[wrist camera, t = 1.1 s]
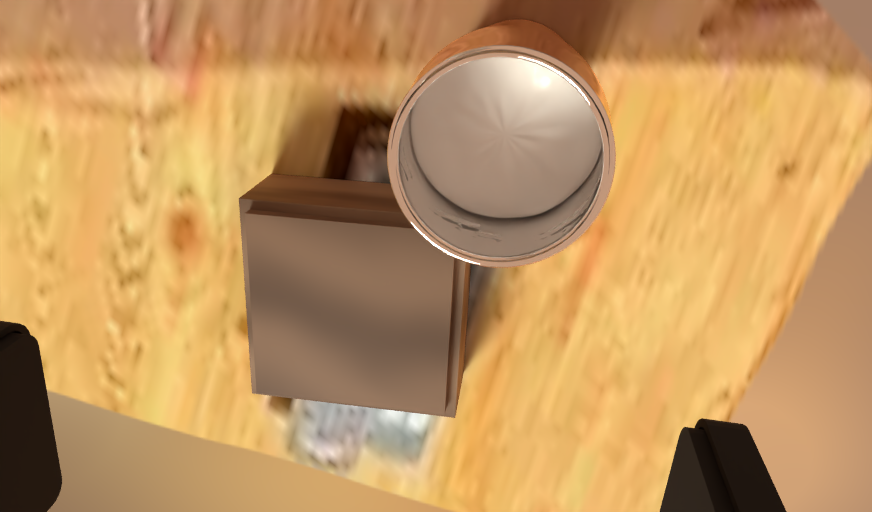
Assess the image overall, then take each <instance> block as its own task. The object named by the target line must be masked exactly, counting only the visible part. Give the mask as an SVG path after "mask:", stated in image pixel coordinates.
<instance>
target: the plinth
mask: <svg viewBox="0 0 872 512" xmlns="http://www.w3.org/2000/svg"><path fill="white" fill-rule="evenodd" d="M239 206H240V221H241V236H242V250H243V265H244V280H245V294H246V309H247V324H248V339H249V353H250V368H251V383H252V393H254V394H262V395H270V396H279V397H287V398H295V399H304V400H312V401H320V402H329V403H337V404H345V405H354V406H362V407H370V408H379V409H387V410H395V411H404V412H412V413H420V414H429V415H437V416H445V417H454V418H455V415H456V410H457V405H458V399H459V394H460V388H461V383H462V378H463V372H464V358H465V344H466V329H467V315H468V301H469V287H470V273H471V264H470V263H467V262H464V261H461V260H458V259H456V258H454V257H451V256H449V255H447V254H446V253H444V252H442V251H440V250H439V249H437V248H436V247H434V246H433V245H432V244H430V243H429V242H428V241H427V240H425V239H424V238H423V237H422V236H421V235H420V234H419V233H418V232H417V231H416V230H415V229H414V227H413V226H412V225H411V224H410V222H409V221H408V220H407V218H406V217H405V215H404V214H403V212H402V210H401V208H400V207H399V205H398V203H397V200H396V198H395V195H394V193H393V190H392V187H391V184H387V183H375V182H364V181H352V180H340V179H328V178H316V177H304V176H292V175H280V174H271V175H269V176H268V177H267V178H265V179H264V180H263V181H261V182H260V183H259V184H257V185H256V186H255V187H254V188H252V189H251V190H250V191H248V192H247V193H246V194H244V195H243V196H242V197H240V198H239Z"/></svg>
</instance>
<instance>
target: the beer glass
mask: <svg viewBox="0 0 872 512" xmlns="http://www.w3.org/2000/svg"><path fill="white" fill-rule="evenodd" d="M615 161H616V151H615V141H614V135H613V130H612V121H611V115H610V110H609V106H608V103H607V100H606V97H605V94H604V91H603V89H602V86H601V84H600V82H599V80H598V78H597V76H596V75H595V73H594V72H593V70H592V69H591V67H590V66H589V65H588V63H587V62H586V61H585V60H584V59H583V58H582V56H581V55H580V54H579V53H578V52H577V51H576V50H575V49H574V48H573V47H571V46H570V45H569V44H568V43H566V42H565V41H564V40H563V39H562V38H561V37H560V36H559V35H558V34H557V33H555V32H554V31H553V30H551V29H550V28H548V27H546V26H544V25H542V24H540V23H537V22H534V21H530V20H524V19H512V20H505V21H501V22H498V23H495V24H492V25H490V26H488V27H484V28H481V29H478V30H475V31H472V32H470V33H468V34H466V35H464V36H462V37H460V38H458V39H456V40H455V41H453V42H451V43H450V44H448V45H447V46H446V47H444V48H443V49H442V50H441V51H439V52H438V53H437V54H436V55H435V56H434V57H433V58H432V59H431V60H430V61H429V63H428V64H427V65H426V66H425V67H424V68H423V70H422V71H421V72H420V74H419V75H418V76H417V78H416V79H415V81H414V83H413V84H412V86H411V88H410V90H409V91H408V93H407V94H406V96H405V97H404V99H403V101H402V102H401V104H400V106H399V108H398V110H397V112H396V115H395V117H394V120H393V123H392V126H391V130H390V134H389V140H388V149H387V164H388V173H389V178H390V183H391V187H392V190H393V193H394V195H395V198H396V200H397V203H398V205H399V207H400V208H401V210H402V212H403V214H404V215H405V217H406V218H407V220H408V221H409V222H410V224H411V225H412V226H413V227H414V229H415V230H416V231H417V232H418V233H419V234H420V235H421V236H422V237H423V238H424V239H425V240H427V241H428V242H429V243H430V244H432V245H433V246H434V247H436V248H437V249H439V250H440V251H442V252H444V253H446V254H447V255H449V256H451V257H454V258H456V259H458V260H461V261H464V262H467V263H470V264H474V265H479V266H484V267H494V268H509V267H518V266H524V265H529V264H532V263H536V262H539V261H542V260H544V259H547V258H549V257H551V256H553V255H555V254H557V253H559V252H561V251H562V250H564V249H565V248H567V247H568V246H570V245H571V244H572V243H574V242H575V241H576V240H577V239H578V238H580V237H581V236H582V235H583V234H584V233H585V232H586V230H587V229H588V228H589V227H590V226H591V225H592V223H593V222H594V221H595V219H596V218H597V216H598V215H599V213H600V212H601V210H602V208H603V206H604V204H605V202H606V200H607V197H608V195H609V192H610V189H611V186H612V182H613V177H614V172H615Z"/></svg>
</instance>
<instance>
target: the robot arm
mask: <svg viewBox="0 0 872 512" xmlns="http://www.w3.org/2000/svg"><path fill="white" fill-rule="evenodd" d="M61 485H62V476H61V470H60V464H59V458H58V453H57V447H56V441H55V436H54V430H53V425H52V419H51V414H50V407H49V401H48V396H47V390H46V384H45V378H44V373H43V367H42V361H41V356H40V350H39V345H38V342H37V340H36V339H35V337H33V336H31V335H30V333H29V331H28V329H27V328H26V327H25V326H24V325H21V324H18V323H11V322H4V321H0V512H47V511H48V510H49V508H50V507H51V506H52V505H53V504H54V502H55V501H56V499H57V497H58V495H59V493H60V490H61ZM660 512H786V510H785V508H784V505H783V504H782V501H781V499H780V497H779V495H778V492H777V490H776V488H775V486H774V484H773V482H772V479H771V477H770V475H769V473H768V471H767V468H766V466H765V464H764V462H763V460H762V458H761V455H760V453H759V451H758V449H757V447H756V444H755V442H754V440H753V438H752V436H751V434H750V432H749V430H748V428H747V427H746V426H745V425H743V424H738V423H731V422H723V421H716V420H709V419H700V420H698V422H697V424H696V426H695V428H688V427H684V428H683V429H682V431H681V433H680V436H679V440H678V443H677V447H676V451H675V455H674V459H673V463H672V466H671V470H670V474H669V478H668V482H667V486H666V490H665V493H664V497H663V501H662V505H661V509H660Z"/></svg>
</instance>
